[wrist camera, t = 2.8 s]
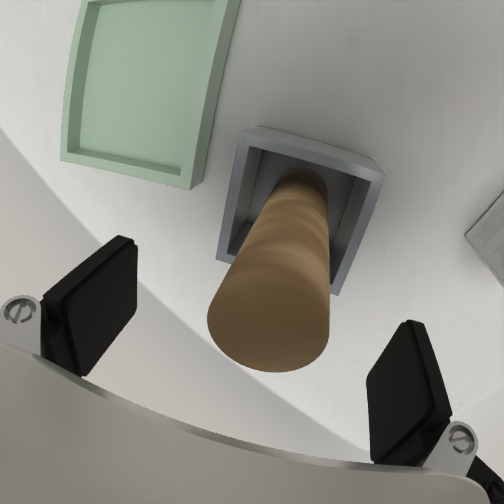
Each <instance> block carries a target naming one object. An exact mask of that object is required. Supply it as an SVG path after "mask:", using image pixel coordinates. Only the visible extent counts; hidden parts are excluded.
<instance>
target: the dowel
mask: <svg viewBox="0 0 504 504" xmlns="http://www.w3.org/2000/svg"><path fill="white" fill-rule="evenodd" d="M329 317H330V267H329V228H328V205H327V190H326V186H325V184H324V182H323V180H322V179H321V177H320V176H319V175H318V174H316V173H315V172H313V171H311V170H309V169H305V168H295V169H291V170H289V171H287V172H285V173H284V174H283V175H282V176H281V177H280V178H279V179H278V181H277V183H276V185H275V186H274V188H273V190H272V192H271V194H270V196H269V197H268V199H267V201H266V203H265V205H264V206H263V208H262V210H261V212H260V214H259V216H258V217H257V219H256V221H255V223H254V225H253V226H252V228H251V230H250V232H249V234H248V236H247V237H246V239H245V241H244V243H243V245H242V247H241V248H240V250H239V252H238V254H237V256H236V258H235V259H234V261H233V263H232V265H231V267H230V269H229V271H228V272H227V274H226V276H225V278H224V280H223V282H222V283H221V285H220V287H219V289H218V291H217V293H216V295H215V296H214V298H213V300H212V302H211V304H210V306H209V310H208V314H207V324H208V329H209V332H210V334H211V337H212V338H213V340H214V342H215V343H216V345H217V346H218V347H219V348H220V349H221V350H222V351H223V352H224V353H225V354H226V355H227V356H228V357H230V358H231V359H233V360H234V361H236V362H238V363H239V364H241V365H244V366H246V367H249V368H251V369H255V370H259V371H264V372H288V371H293V370H297V369H299V368H302V367H304V366H306V365H308V364H310V363H311V362H313V361H314V360H315V359H317V358H318V357H319V356H320V354H321V353H322V352H323V350H324V349H325V347H326V345H327V342H328V338H329Z"/></svg>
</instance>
